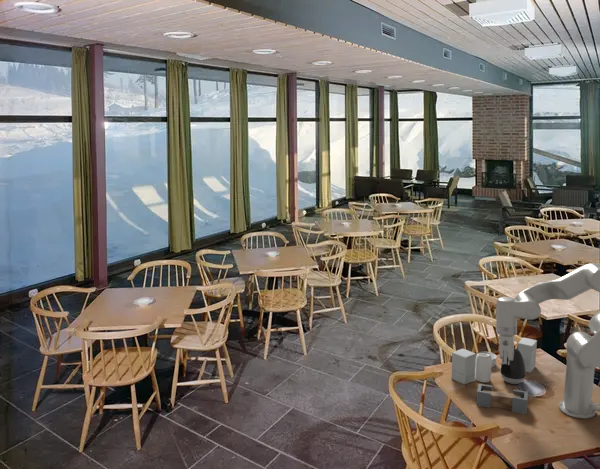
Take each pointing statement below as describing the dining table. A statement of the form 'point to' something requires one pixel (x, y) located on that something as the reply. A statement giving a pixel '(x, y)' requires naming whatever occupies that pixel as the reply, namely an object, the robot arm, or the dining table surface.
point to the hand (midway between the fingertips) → (505, 372)
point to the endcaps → (517, 405)
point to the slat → (502, 399)
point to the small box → (528, 352)
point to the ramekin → (493, 359)
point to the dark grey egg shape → (516, 369)
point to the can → (483, 367)
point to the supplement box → (463, 366)
